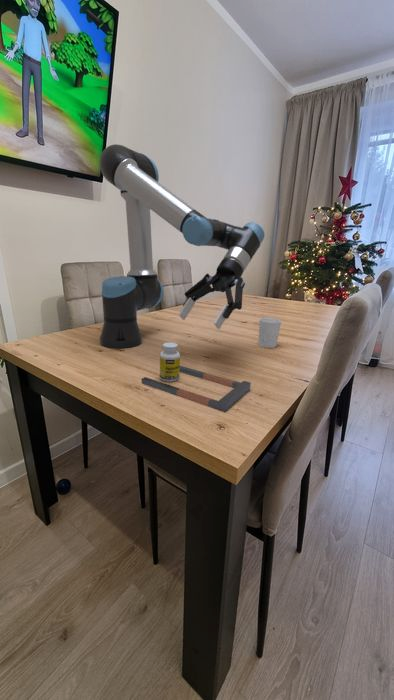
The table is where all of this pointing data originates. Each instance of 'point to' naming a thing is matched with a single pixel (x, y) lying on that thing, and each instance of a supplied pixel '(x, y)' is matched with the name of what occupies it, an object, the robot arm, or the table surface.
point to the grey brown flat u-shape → (222, 404)
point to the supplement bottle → (169, 362)
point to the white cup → (268, 332)
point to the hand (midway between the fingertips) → (197, 321)
